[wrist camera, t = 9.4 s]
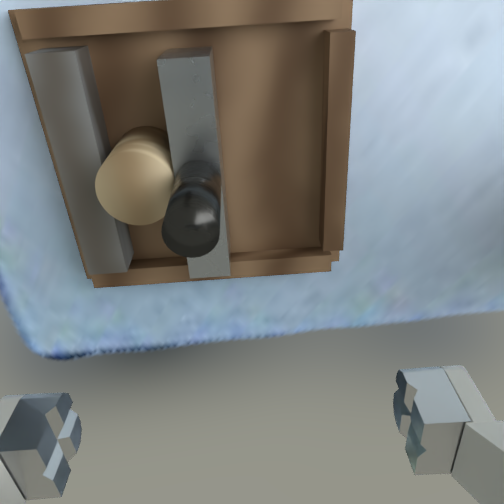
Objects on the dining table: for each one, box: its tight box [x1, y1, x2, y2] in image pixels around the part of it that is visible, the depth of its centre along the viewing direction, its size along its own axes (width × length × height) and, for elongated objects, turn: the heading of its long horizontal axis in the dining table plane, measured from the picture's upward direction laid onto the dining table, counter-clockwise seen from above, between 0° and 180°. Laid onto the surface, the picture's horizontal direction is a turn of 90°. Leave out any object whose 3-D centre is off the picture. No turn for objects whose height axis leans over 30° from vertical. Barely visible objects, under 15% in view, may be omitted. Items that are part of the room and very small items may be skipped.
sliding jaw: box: [157, 46, 231, 279], centre depth 28 cm, size 3×15×12 cm, turn 3°
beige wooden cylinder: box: [95, 126, 175, 225], centre depth 31 cm, size 5×5×6 cm
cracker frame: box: [8, 0, 356, 288], centre depth 33 cm, size 22×21×4 cm
